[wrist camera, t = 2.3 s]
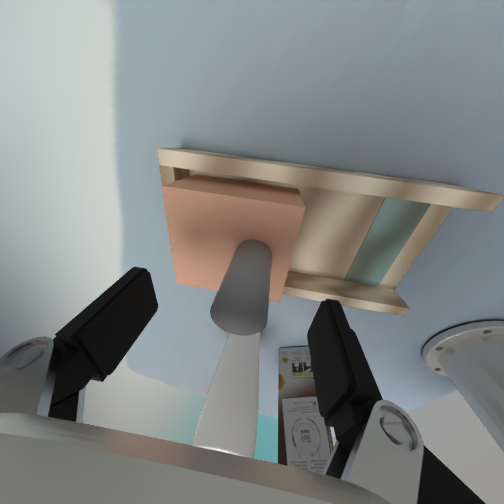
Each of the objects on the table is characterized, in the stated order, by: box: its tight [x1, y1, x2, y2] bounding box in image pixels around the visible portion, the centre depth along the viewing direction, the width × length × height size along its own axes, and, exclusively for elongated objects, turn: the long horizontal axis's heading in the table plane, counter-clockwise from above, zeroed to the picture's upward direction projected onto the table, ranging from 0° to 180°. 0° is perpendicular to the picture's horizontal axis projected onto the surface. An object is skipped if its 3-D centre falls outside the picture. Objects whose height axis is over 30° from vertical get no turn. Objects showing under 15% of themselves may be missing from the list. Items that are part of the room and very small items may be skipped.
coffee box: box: [278, 346, 334, 474], centre depth 27 cm, size 9×6×16 cm
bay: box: [157, 148, 504, 316], centre depth 18 cm, size 26×13×4 cm, turn 84°
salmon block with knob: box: [162, 174, 306, 336], centre depth 14 cm, size 10×9×12 cm
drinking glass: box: [192, 332, 261, 459], centre depth 25 cm, size 7×7×15 cm
